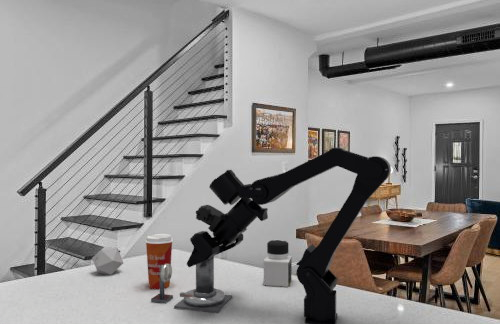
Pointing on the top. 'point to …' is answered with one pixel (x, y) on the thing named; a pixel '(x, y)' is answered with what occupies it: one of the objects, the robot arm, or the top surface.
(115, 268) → the die
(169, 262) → the paper cup
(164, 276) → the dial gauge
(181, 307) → the turntable base
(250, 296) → the top surface
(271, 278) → the medicine bottle
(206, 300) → the platter
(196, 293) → the cylinder with brass cap
